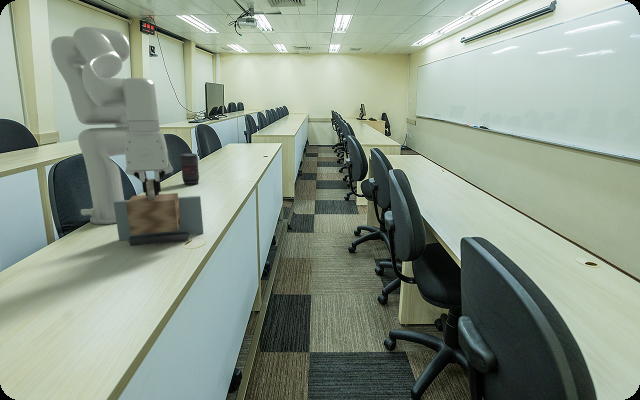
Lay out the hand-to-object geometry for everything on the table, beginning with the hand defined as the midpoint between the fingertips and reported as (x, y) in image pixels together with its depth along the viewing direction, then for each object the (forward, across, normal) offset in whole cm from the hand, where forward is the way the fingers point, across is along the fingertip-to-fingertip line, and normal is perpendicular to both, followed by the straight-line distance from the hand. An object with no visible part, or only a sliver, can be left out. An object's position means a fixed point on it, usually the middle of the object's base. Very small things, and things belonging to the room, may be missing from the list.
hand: (152, 194), depth 98 cm
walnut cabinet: (+10, 0, 0) cm, 10 cm away
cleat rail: (+15, 0, +3) cm, 16 cm away
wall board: (+15, 0, +8) cm, 17 cm away
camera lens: (+15, +3, +81) cm, 82 cm away
